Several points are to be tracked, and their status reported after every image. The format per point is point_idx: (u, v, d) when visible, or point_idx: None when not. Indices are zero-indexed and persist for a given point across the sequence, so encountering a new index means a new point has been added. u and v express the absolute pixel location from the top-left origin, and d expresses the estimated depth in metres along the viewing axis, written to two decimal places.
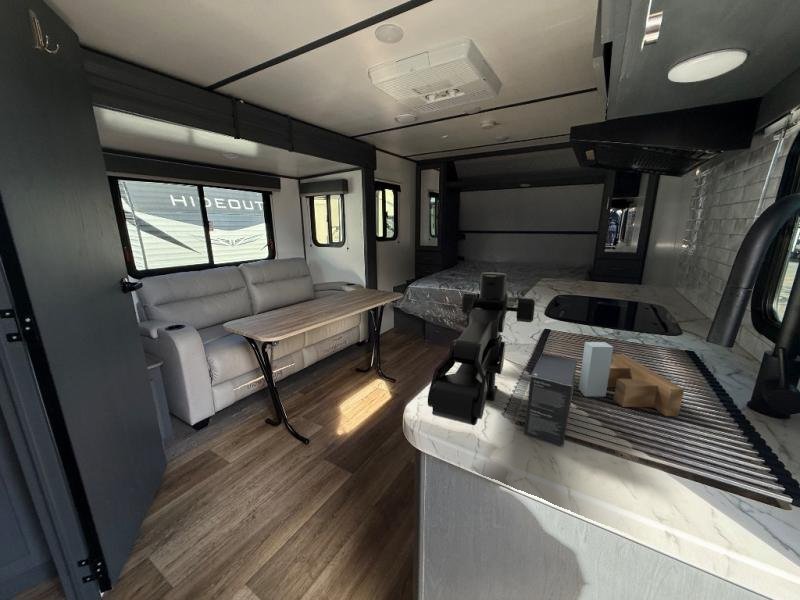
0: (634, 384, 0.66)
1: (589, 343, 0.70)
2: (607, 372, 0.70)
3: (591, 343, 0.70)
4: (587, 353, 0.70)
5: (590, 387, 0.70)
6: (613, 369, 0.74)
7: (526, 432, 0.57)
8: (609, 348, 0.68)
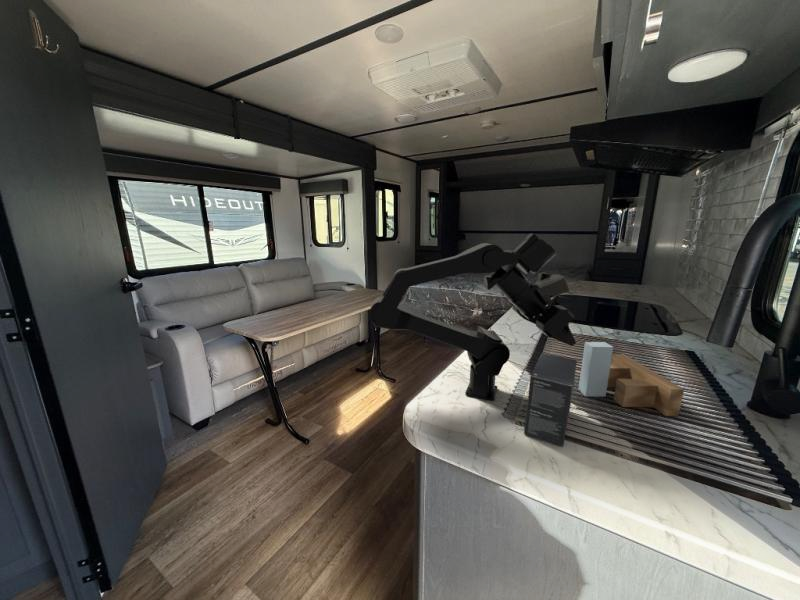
0: (634, 384, 0.66)
1: (589, 343, 0.70)
2: (607, 372, 0.70)
3: (591, 343, 0.70)
4: (587, 353, 0.70)
5: (590, 387, 0.70)
6: (613, 369, 0.74)
7: (526, 432, 0.57)
8: (609, 348, 0.68)
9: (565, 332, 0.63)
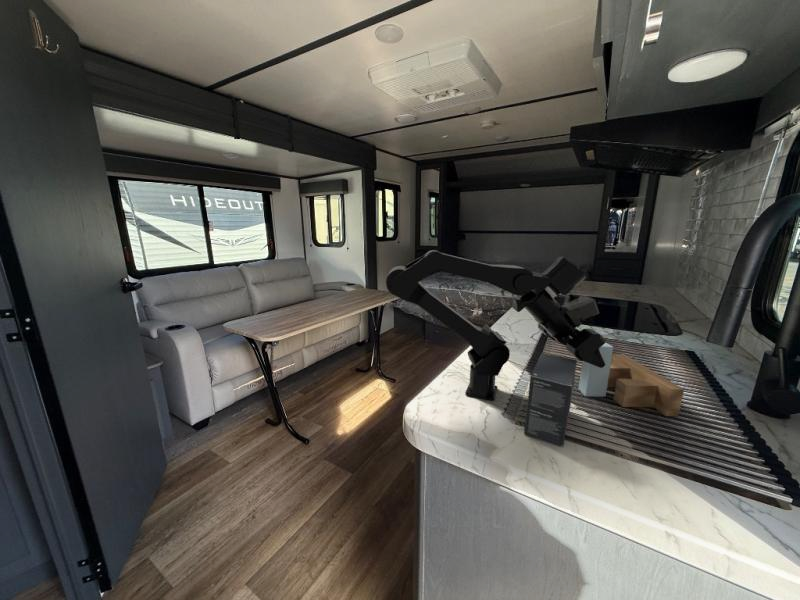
0: (634, 384, 0.66)
1: None
2: (607, 372, 0.70)
3: None
4: None
5: (590, 387, 0.70)
6: (613, 369, 0.74)
7: (526, 432, 0.57)
8: (609, 348, 0.68)
9: (595, 355, 0.64)
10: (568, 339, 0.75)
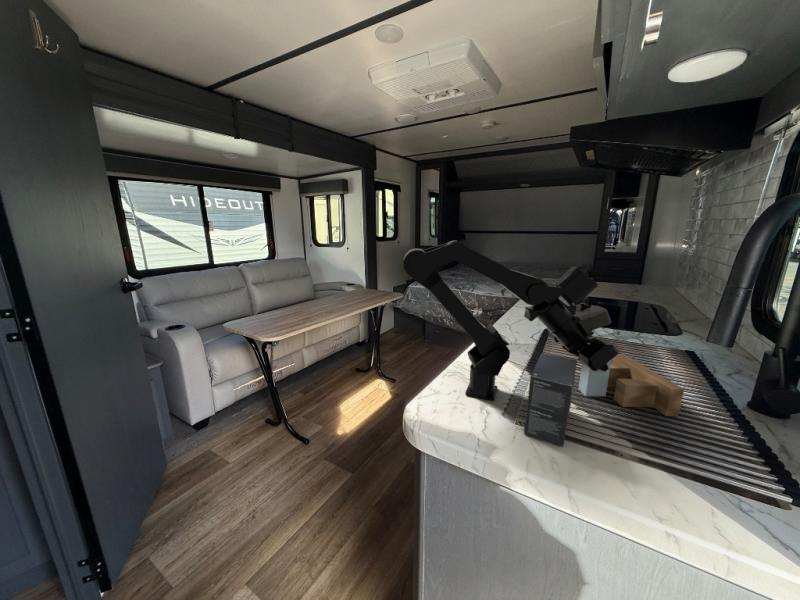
0: (634, 384, 0.66)
1: (589, 343, 0.70)
2: (607, 372, 0.70)
3: None
4: None
5: (590, 387, 0.70)
6: (613, 369, 0.74)
7: (526, 432, 0.57)
8: None
9: None
10: None
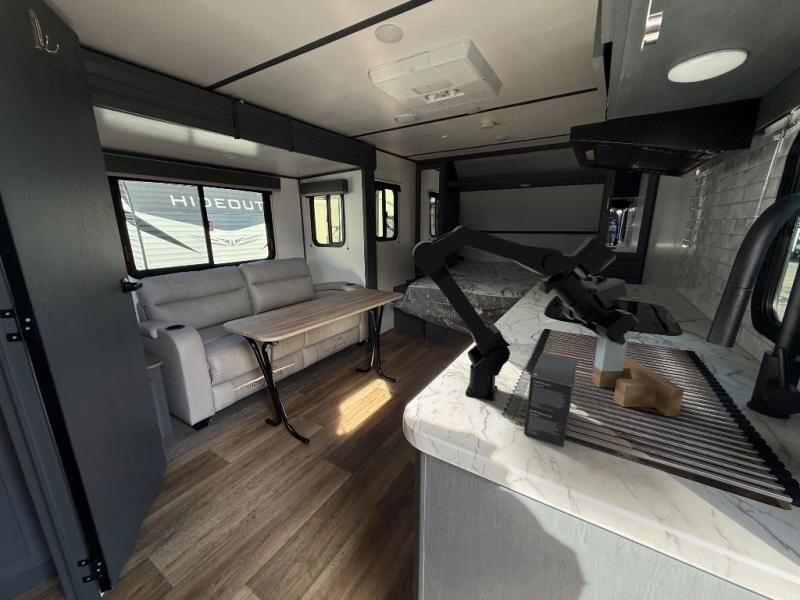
0: (634, 384, 0.66)
1: None
2: (624, 346, 0.68)
3: None
4: None
5: (606, 362, 0.69)
6: None
7: (526, 432, 0.57)
8: None
9: None
10: None
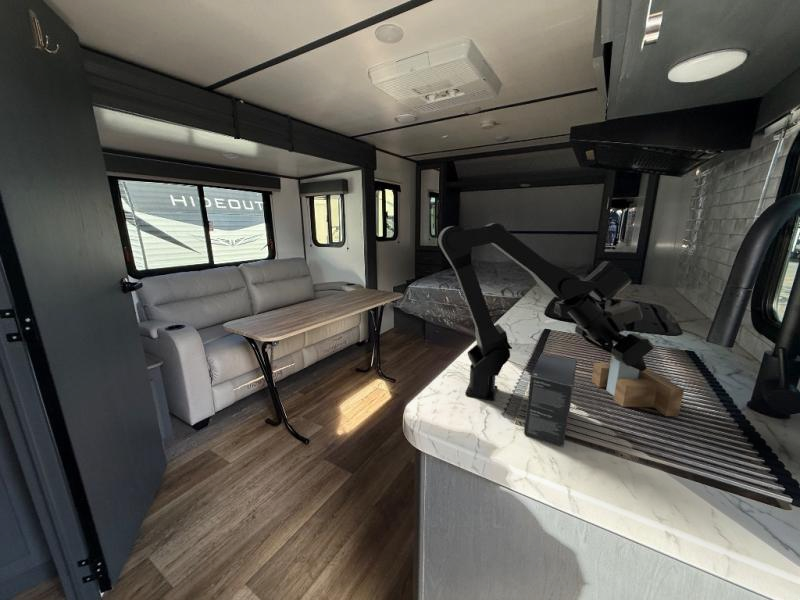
0: (634, 384, 0.66)
1: None
2: (637, 372, 0.69)
3: None
4: None
5: None
6: None
7: (526, 432, 0.57)
8: None
9: None
10: (609, 344, 0.74)
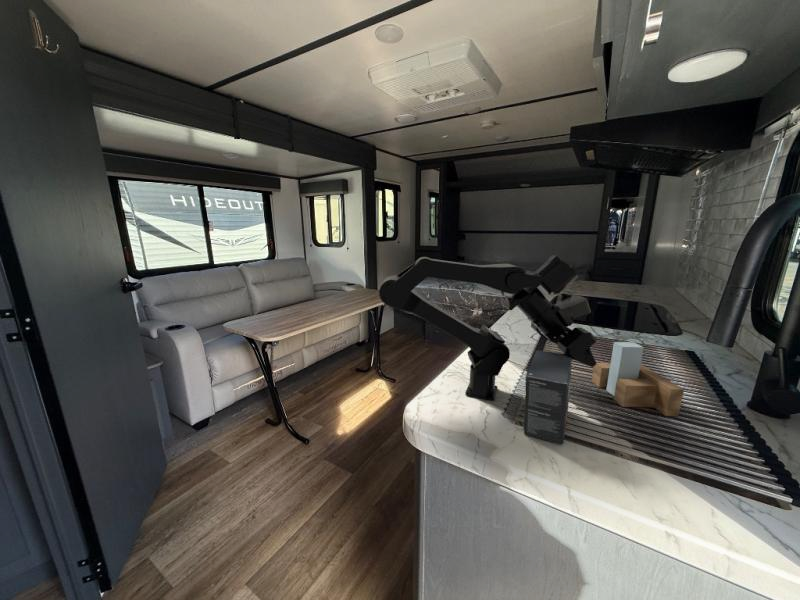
0: (634, 384, 0.66)
1: (618, 343, 0.70)
2: (637, 372, 0.69)
3: (620, 343, 0.70)
4: (616, 353, 0.70)
5: None
6: None
7: (526, 431, 0.57)
8: (639, 348, 0.68)
9: (586, 354, 0.64)
10: (560, 338, 0.75)
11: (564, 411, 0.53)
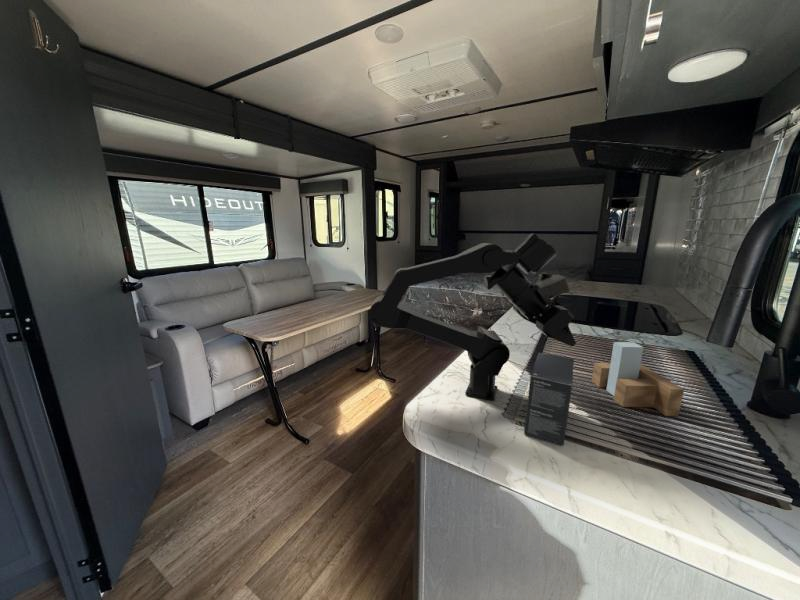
0: (634, 384, 0.66)
1: (618, 343, 0.70)
2: (637, 372, 0.69)
3: (620, 343, 0.70)
4: (616, 353, 0.70)
5: None
6: None
7: (526, 432, 0.57)
8: (639, 348, 0.68)
9: (565, 332, 0.63)
10: None
11: (567, 412, 0.53)
